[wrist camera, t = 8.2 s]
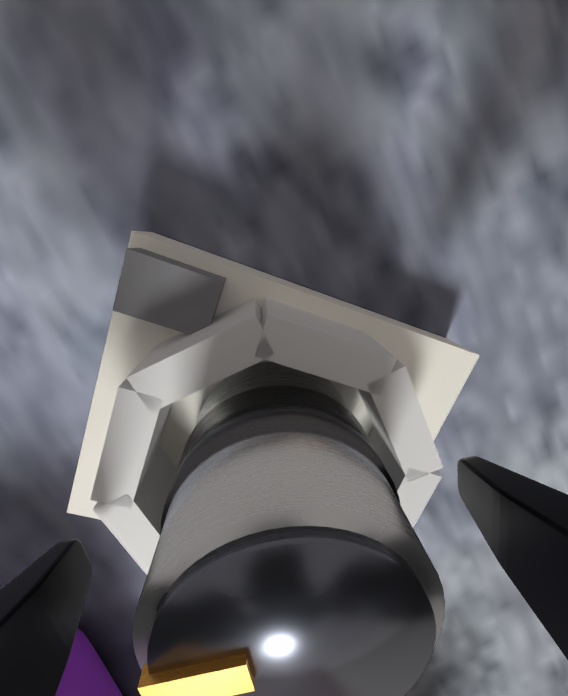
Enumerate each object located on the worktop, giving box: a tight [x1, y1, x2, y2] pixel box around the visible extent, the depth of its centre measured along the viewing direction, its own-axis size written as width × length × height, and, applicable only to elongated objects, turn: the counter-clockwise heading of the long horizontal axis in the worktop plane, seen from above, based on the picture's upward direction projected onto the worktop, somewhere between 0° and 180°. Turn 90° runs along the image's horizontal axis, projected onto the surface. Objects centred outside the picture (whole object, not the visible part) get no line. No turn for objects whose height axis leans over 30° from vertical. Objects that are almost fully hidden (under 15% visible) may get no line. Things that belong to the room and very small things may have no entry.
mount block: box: [67, 231, 480, 575], centre depth 11 cm, size 11×10×4 cm
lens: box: [133, 362, 445, 696], centre depth 8 cm, size 5×5×6 cm
